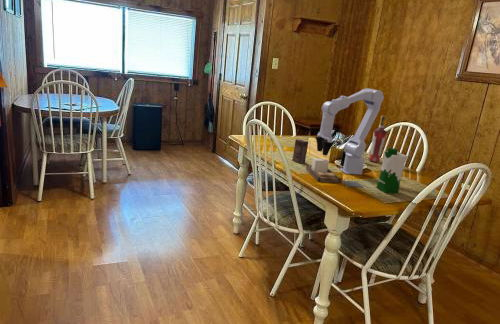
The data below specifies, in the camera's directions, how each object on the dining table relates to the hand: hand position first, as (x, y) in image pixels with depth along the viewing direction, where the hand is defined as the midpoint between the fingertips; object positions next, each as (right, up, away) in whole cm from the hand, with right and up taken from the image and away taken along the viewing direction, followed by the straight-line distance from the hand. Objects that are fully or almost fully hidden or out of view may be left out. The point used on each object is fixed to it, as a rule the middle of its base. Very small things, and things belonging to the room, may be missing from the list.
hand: (322, 153), depth 182 cm
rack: (0, -11, -1) cm, 11 cm away
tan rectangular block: (0, -13, -6) cm, 14 cm away
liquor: (+40, -4, +41) cm, 57 cm away
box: (-9, -4, +19) cm, 22 cm away
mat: (+12, -15, -10) cm, 22 cm away
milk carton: (+28, -18, -12) cm, 35 cm away
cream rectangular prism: (-1, -10, +3) cm, 10 cm away
